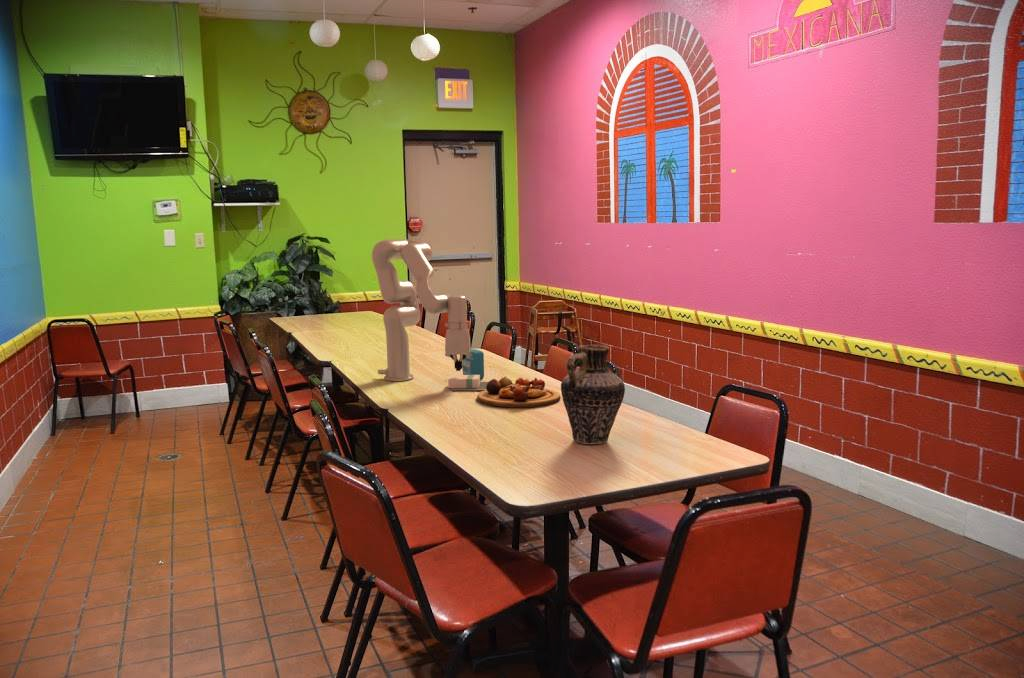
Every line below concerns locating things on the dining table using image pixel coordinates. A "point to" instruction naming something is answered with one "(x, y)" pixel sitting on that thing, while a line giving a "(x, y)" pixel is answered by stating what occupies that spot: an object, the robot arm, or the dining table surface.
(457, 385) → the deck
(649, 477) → the dining table surface
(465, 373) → the data package
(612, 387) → the jug
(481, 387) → the mat
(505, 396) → the wooden plate with food
